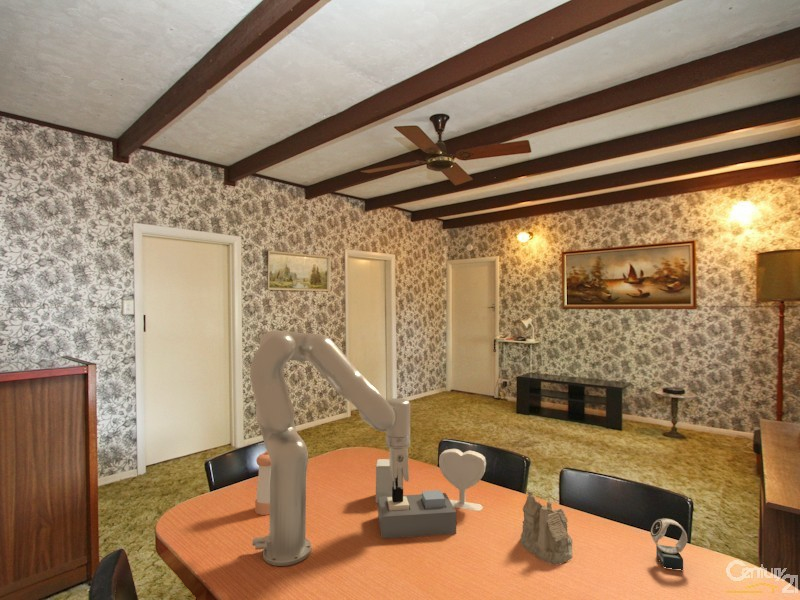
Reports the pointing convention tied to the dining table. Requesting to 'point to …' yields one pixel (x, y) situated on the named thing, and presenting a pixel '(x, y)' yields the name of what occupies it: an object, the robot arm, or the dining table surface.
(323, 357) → the robot arm
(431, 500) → the slate blue key
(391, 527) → the control pad
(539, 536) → the ceramic cottage
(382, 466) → the supplement box
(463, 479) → the heart sculpture
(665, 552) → the watch
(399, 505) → the cream key
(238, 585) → the dining table surface
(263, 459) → the pepper shaker
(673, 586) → the dining table surface
